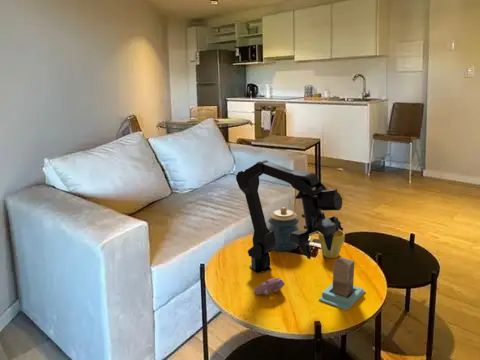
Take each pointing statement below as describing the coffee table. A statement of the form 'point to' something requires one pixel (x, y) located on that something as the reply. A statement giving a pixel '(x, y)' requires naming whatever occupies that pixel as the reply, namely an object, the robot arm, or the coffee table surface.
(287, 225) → the canister
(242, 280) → the coffee table surface
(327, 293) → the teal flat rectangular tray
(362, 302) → the coffee table surface
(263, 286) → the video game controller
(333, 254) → the plant pot
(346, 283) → the block
